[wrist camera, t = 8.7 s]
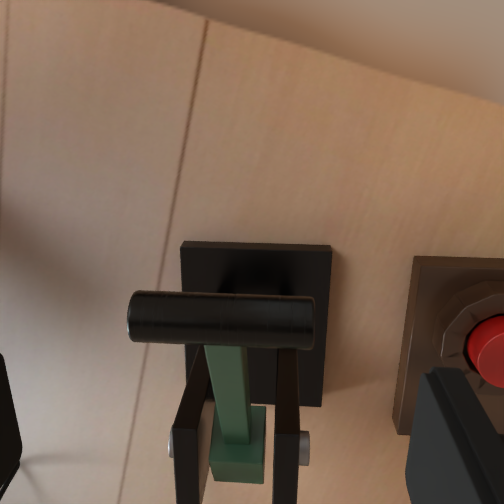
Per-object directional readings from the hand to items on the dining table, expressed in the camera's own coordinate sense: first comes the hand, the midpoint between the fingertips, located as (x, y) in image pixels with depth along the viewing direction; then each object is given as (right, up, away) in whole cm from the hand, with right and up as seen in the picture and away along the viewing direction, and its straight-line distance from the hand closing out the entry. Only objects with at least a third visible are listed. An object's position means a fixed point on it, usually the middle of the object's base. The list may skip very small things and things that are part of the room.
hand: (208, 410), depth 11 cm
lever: (0, -1, +7) cm, 7 cm away
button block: (+15, -2, +20) cm, 25 cm away
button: (+15, -2, +16) cm, 22 cm away
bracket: (+1, -1, +20) cm, 21 cm away
